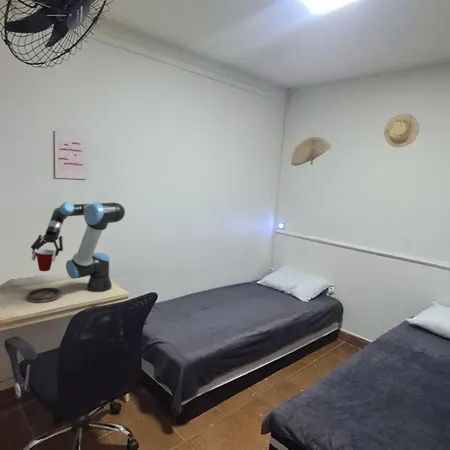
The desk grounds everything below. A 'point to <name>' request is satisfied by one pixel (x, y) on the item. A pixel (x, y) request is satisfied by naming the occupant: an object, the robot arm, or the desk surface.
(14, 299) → the desk surface
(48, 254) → the plastic cup
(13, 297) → the desk surface
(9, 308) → the desk surface
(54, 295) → the cup holder
